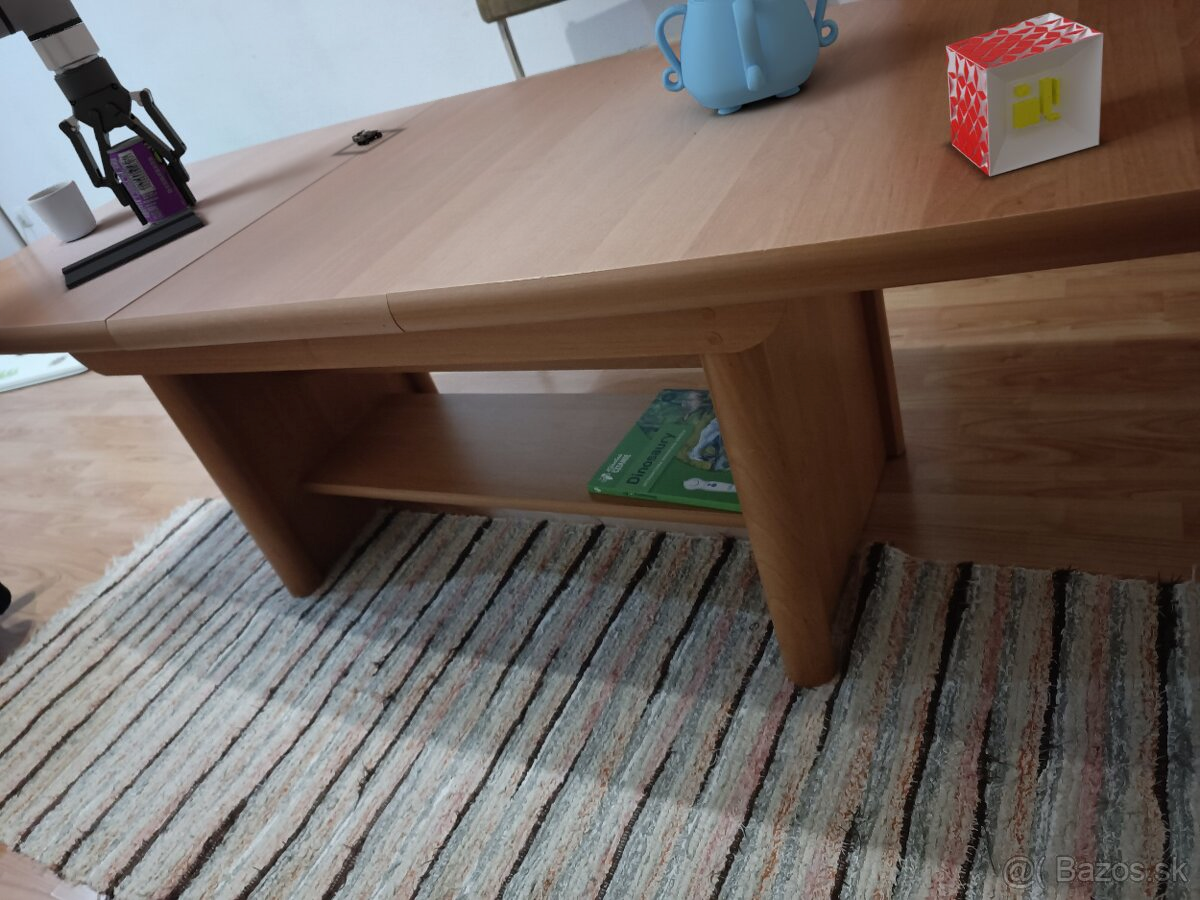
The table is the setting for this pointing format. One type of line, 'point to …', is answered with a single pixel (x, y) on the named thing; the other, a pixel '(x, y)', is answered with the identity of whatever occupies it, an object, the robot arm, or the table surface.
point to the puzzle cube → (1025, 92)
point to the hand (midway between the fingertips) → (169, 212)
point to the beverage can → (147, 179)
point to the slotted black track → (130, 248)
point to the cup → (63, 211)
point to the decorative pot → (743, 49)
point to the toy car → (366, 137)
